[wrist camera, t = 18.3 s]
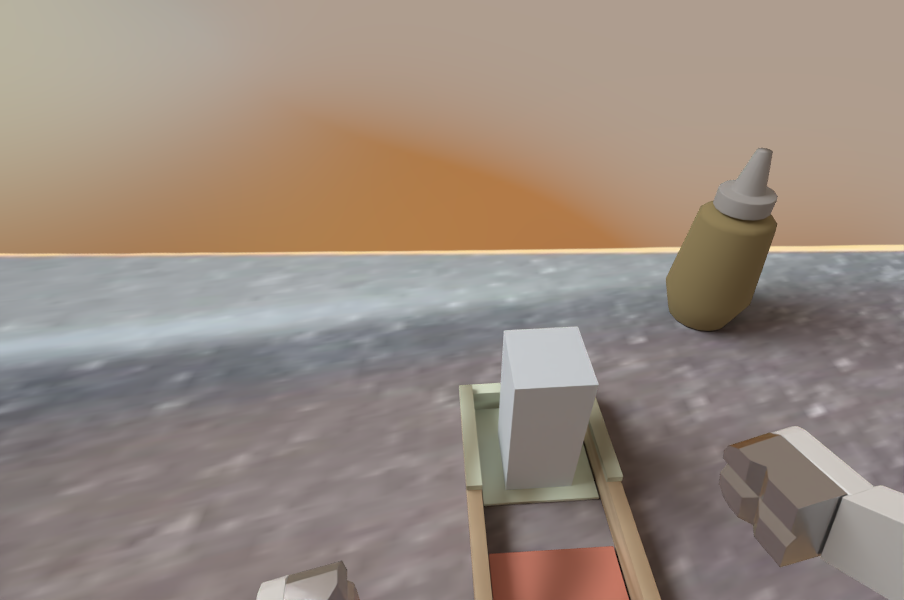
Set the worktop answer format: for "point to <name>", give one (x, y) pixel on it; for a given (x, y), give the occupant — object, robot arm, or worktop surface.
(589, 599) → the channel
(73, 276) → the worktop surface
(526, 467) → the blue-grey block
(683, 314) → the squeeze bottle
